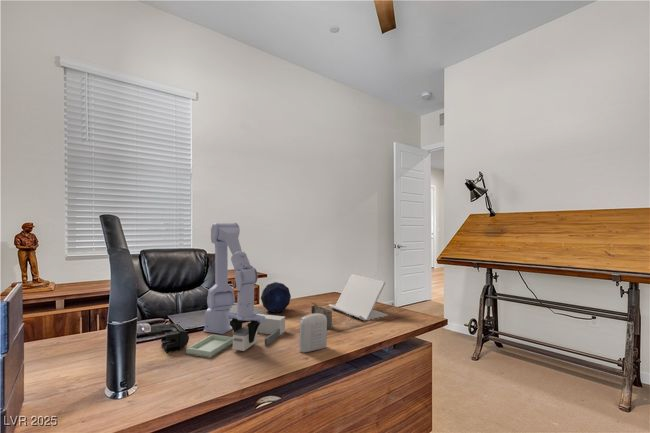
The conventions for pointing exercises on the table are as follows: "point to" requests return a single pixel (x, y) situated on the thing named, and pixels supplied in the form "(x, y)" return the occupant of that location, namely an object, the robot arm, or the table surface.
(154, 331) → the smart home device
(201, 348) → the tray
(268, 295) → the decorative orb
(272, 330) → the printer bay
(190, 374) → the table surface
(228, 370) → the table surface
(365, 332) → the table surface
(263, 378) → the table surface
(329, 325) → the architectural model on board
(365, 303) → the tablet stand
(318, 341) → the photo printer
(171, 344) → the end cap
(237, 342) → the grey rectangular block
